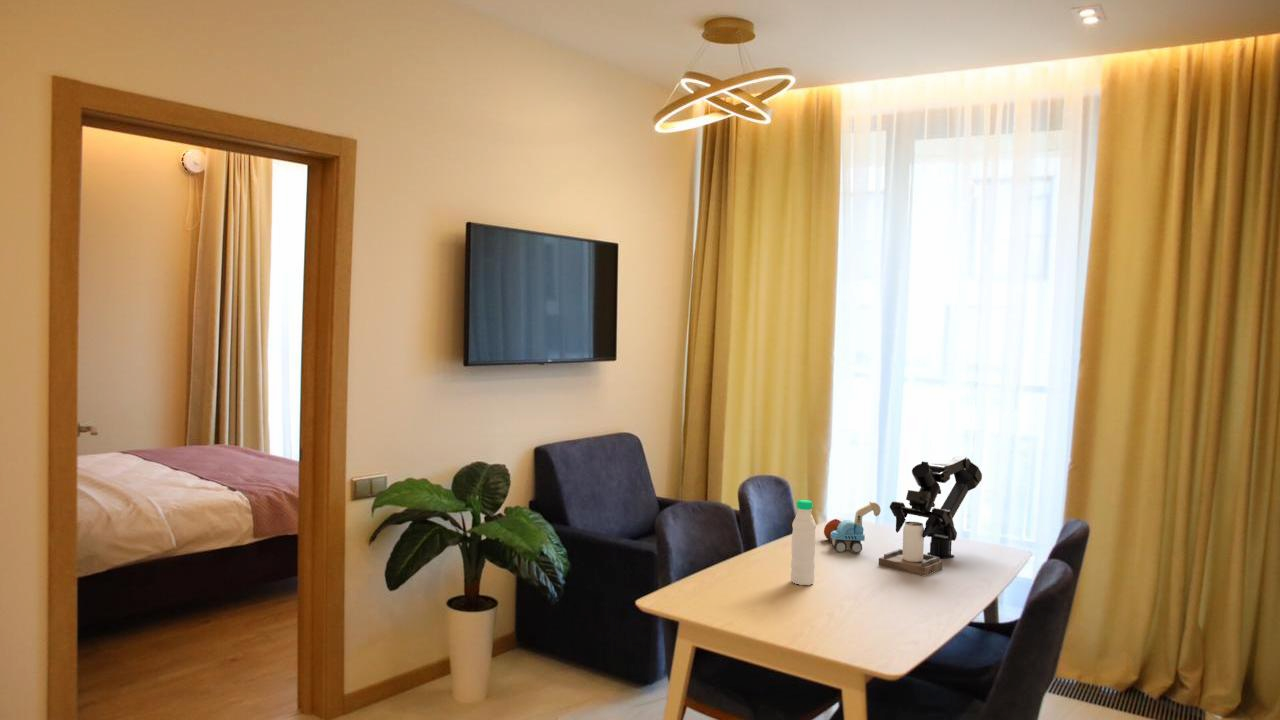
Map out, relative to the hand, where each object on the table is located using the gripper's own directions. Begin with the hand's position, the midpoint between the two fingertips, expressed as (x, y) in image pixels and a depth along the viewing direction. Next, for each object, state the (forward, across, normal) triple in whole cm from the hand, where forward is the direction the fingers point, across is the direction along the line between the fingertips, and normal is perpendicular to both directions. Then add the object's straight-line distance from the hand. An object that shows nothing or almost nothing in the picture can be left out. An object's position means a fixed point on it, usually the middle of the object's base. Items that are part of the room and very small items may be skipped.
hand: (909, 534), depth 294 cm
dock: (+7, 0, +9) cm, 11 cm away
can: (+5, +1, +7) cm, 9 cm away
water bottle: (+36, -14, -21) cm, 44 cm away
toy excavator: (+3, -24, +13) cm, 27 cm away
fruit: (-2, -35, +18) cm, 39 cm away
